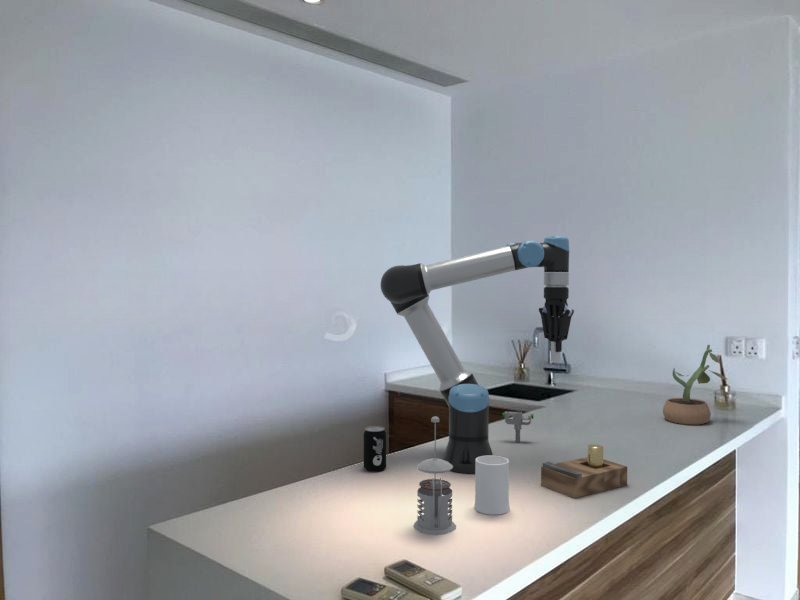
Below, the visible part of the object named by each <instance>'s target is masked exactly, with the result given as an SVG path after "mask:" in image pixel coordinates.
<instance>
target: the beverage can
mask: <svg viewBox="0 0 800 600" xmlns="http://www.w3.org/2000/svg"><path fill="white" fill-rule="evenodd" d="M385 429H386V428H385V427H384V426H381V425H372V426H371V425H370V426H367V427H365V428H364V430H365V431H364V432H363V468H364V470H365V471H367V472H371V473H377V472H382V471H384V470H385V469H386V468H387V432H386V431H385Z"/></svg>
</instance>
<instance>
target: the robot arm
mask: <svg viewBox="0 0 800 600" xmlns="http://www.w3.org/2000/svg"><path fill="white" fill-rule="evenodd" d="M528 268H543V285H544V286H545V287H543V298H544V299H545V302H544V306H542V307H539V308H538V312H539V314H540V318H541V324H542V331H543V337H544V339H547V340H548V342H549V352H550V360H549V361H550V363H561V352H562V350H563V349H562V348H563V347H562V345H563V344H562V343H563V341H566V340H567V339H568V336H569V332H570V325H571V321H572V316H574V313H575V310H574V309H573V308H572V309H571V308H570V307H569V304H568V299H569V297H570V296H569V293H570V292H569V291H570V289H569V287H567V286H569V285H570V284H569V283H570V282H569V279H570V277H569V275H570V273H569V270H570V240H569V238H568V237H567V236H563V235H561V236H560V235H557V236H556V235H553V236H545V237H544V240H543V242H538V241H536V240H532V239H529V240H525V241H522V242H512V243H511V242H509V243H506V245H505V246H502V247H497V248H493V249H487V250H485V251H481V252H476V253H471V254H468V255H465V256H460V257H455V258H452V259H446V260H443V261H438V262H435V263H430V264H424V263H422V262H421V263H417V264H409V265H403V264H402V265H401V264H400V265H394V266H392V267H390V268H388V269H387V270H386V271H385V272H384V273H383V274H382V277H381V279H380V290H381V294H382V295H383V297H384V298H385V299H386V300H387V301H389V302H390V304H391V306H392V307H393V309H394V310H395V313H396V314H397V315H398V316H402V317H403V318H404V319H405V321H406V323H407V324H408V327H409V328H410V330H411V332H412V334H413V335H414V337H415V339H416V340H417V342H418V345H419V346H420V347H421V349H422V351H423V353H424V355H425V357H426V359H427V360H428V362H429V364H430V366H431V368H432V369H433V370H434V371H433V372H434V373H435V375H436V377H437V378H438V380H439V382H440V386H439V389H438V390H439V392H440V393H441V396H442V397H443V399H444V401H445V403H446V404H447V406H448V442H447V445H446V448H445V452H444V455H443V457H442V460H445V461H447V462H449V463H450V464H451V465H452V466H453V468H452V469H451V470H450V471H451V472H453V473H454V472H455V473H459V474H460V473H461V474H475V460H476V458H477V457H480V456H487V455H493V451H492V448H491V445H490V444H491V443H490V441H489V421H490V420H489V419H490V418H489V416H490V415H489V414H490V413H489V412H490V411H489V410H490V409H489V407H490V406H489V405H490V404H489V403H490V396H489V395H490V394H489V391H488V389H487V388H486V387H485V386H482V385H480V384H479V383H478V381H477V379H476V377H475V376H474V373H473V372H472V371H470V370H466V369H465V368H464V366H463V363H462V362H461V361H460V359H459V357H458V355H457V353H456V351H455V349H454V348H453V346H452V344H451V343H450V341H449V339H448V337H447V336H446V334H445V332H444V330H443V328H442V326H441V324H440V323H439V321H438V319H437V317H436V316H435V313H434V312H433V310H432V308H431V307H430V305H429V299H430V293H431V292H432V291H434V290H440V289H443V288H447V287H451V286H456V285H461V284H463V283H467V282H469V283H470V282H472V281H476V280H481V279H485V278H489V277H490V278H491V277H493V276H498V275H502V274H506V273H510V272H515V271H519V270H523V269H528ZM493 456H494V455H493Z"/></svg>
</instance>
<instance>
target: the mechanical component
mask: <svg viewBox="0 0 800 600" xmlns="http://www.w3.org/2000/svg"><path fill="white" fill-rule="evenodd" d="M501 414H502V418H504V421H505V422H504V423H506V424H507V425H514V427H513V429H514V430H515V438H514V439H515V443H517V444H519V443H520V441H521V430H522V429H523V428H522V426H529V425H531V424H532V420H534V413H531V412H529V413H528V415H527V417H526V416H524V415H523V412H522V411H504V412H502V413H501ZM510 416H511V417H512V418H510ZM524 421H525V422H524ZM526 421H527V422H526Z"/></svg>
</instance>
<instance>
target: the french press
mask: <svg viewBox="0 0 800 600" xmlns="http://www.w3.org/2000/svg"><path fill="white" fill-rule="evenodd" d="M430 422H431V423H434V457H432V458H427V459H424V460H423V461H421V462H419V463H418V464H417V465H416V467H417V469H418V471H420V472H422V473H428V474H434V478H433V477H432V478H427V479H423V480H421V481H420V482H419V483H418V485H419V486H420V487H419V488H418V489H417V497H418V498H417V503H418V504H417V508H418V509H419V510H417V512H416V513H417V514H418V515H417V520H416V521H415V522H414V523H413V525H412V527H413V529H414V530H415V531H417V532H419V533H421V534H425V535H432V536H433V535H434V536H438V535H446V534H450V533H453V532H454V531H455V530H456V529H457V524H456V523H455V522H454V521H453V509H452V508H453V504H452V503H453V498H452V497H453V490H452V489H451V488H450V487H451V485H452V483H450V481H447V480H446V479H442V478H441V477H440V478H437V477H436V474H444V473H448V472H450V471H451V469H452V468H453V466H452V465H451V464H450V463H449V462H447V461H445V460H443V458H436V456H437V455H436V454H437V452H436V449H437V447H436V446H437V442H436V441H437V438H436V437H437V432H436V431H437V425H436V423H440V418H439V416H436V415H435V416H432V417H431V418H430Z"/></svg>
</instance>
